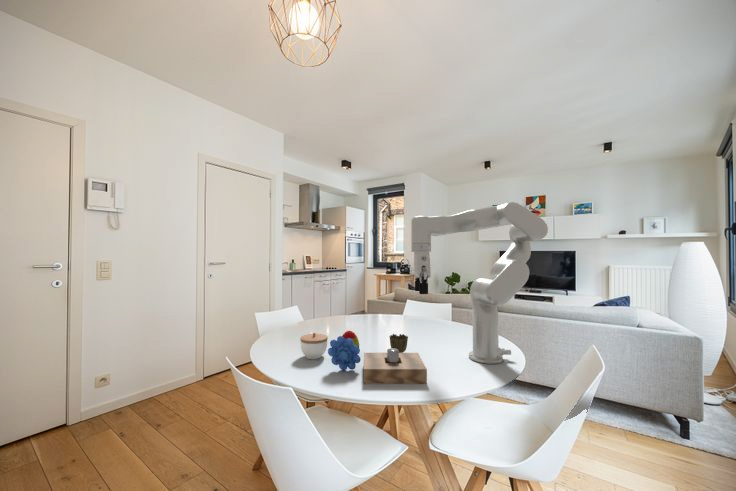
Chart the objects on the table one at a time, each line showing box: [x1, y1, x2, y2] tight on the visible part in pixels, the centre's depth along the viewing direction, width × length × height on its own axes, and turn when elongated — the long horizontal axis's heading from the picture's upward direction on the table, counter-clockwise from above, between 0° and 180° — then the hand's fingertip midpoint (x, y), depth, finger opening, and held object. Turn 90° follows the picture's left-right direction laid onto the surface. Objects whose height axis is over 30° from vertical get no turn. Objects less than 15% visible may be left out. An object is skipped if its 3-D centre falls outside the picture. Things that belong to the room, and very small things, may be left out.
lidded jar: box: [299, 332, 329, 360], centre depth 120 cm, size 11×11×9 cm
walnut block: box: [363, 352, 428, 385], centre depth 103 cm, size 20×16×4 cm
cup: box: [389, 333, 409, 353], centre depth 121 cm, size 8×7×8 cm
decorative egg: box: [342, 330, 360, 348], centre depth 121 cm, size 8×8×10 cm
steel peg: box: [386, 347, 399, 363], centre depth 103 cm, size 4×4×8 cm
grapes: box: [327, 335, 361, 371], centre depth 105 cm, size 12×7×12 cm, turn 90°
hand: (421, 292), depth 116 cm, fingers open, 9 cm apart
